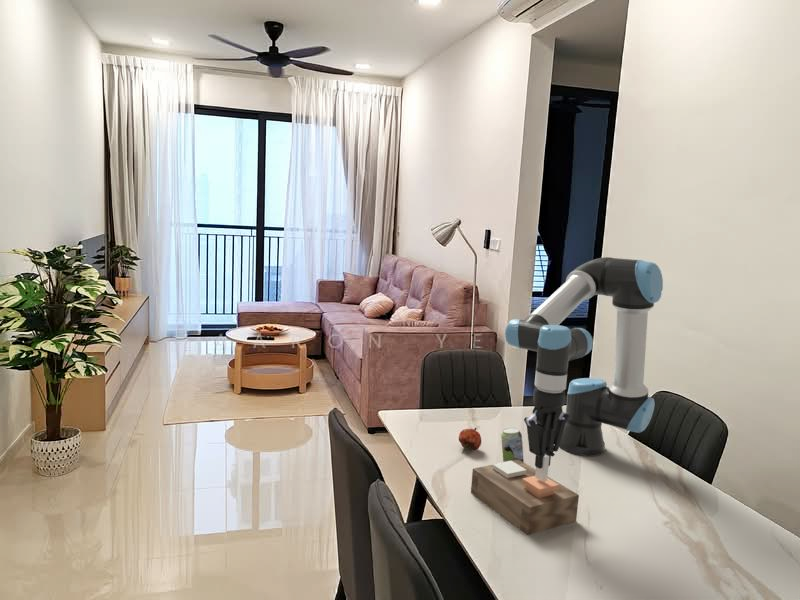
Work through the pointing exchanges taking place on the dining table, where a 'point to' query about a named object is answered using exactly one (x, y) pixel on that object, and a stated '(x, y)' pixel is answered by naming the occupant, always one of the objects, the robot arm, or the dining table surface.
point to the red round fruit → (470, 439)
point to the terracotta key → (540, 486)
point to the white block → (509, 469)
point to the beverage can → (512, 445)
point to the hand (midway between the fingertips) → (541, 478)
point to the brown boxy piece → (523, 500)
